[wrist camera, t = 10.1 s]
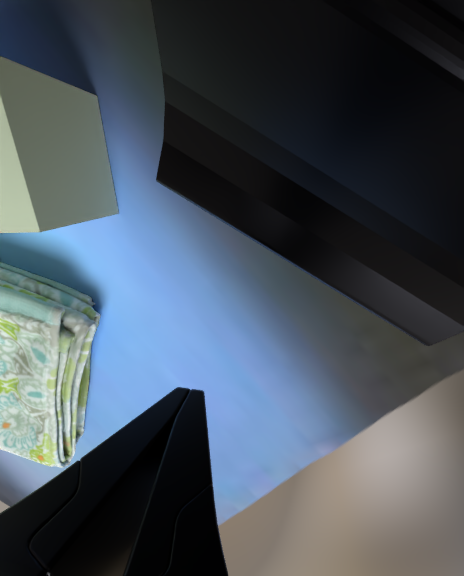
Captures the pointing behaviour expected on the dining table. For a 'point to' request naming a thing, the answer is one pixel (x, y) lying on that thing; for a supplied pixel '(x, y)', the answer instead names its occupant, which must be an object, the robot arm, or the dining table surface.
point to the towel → (43, 365)
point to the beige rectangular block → (50, 153)
